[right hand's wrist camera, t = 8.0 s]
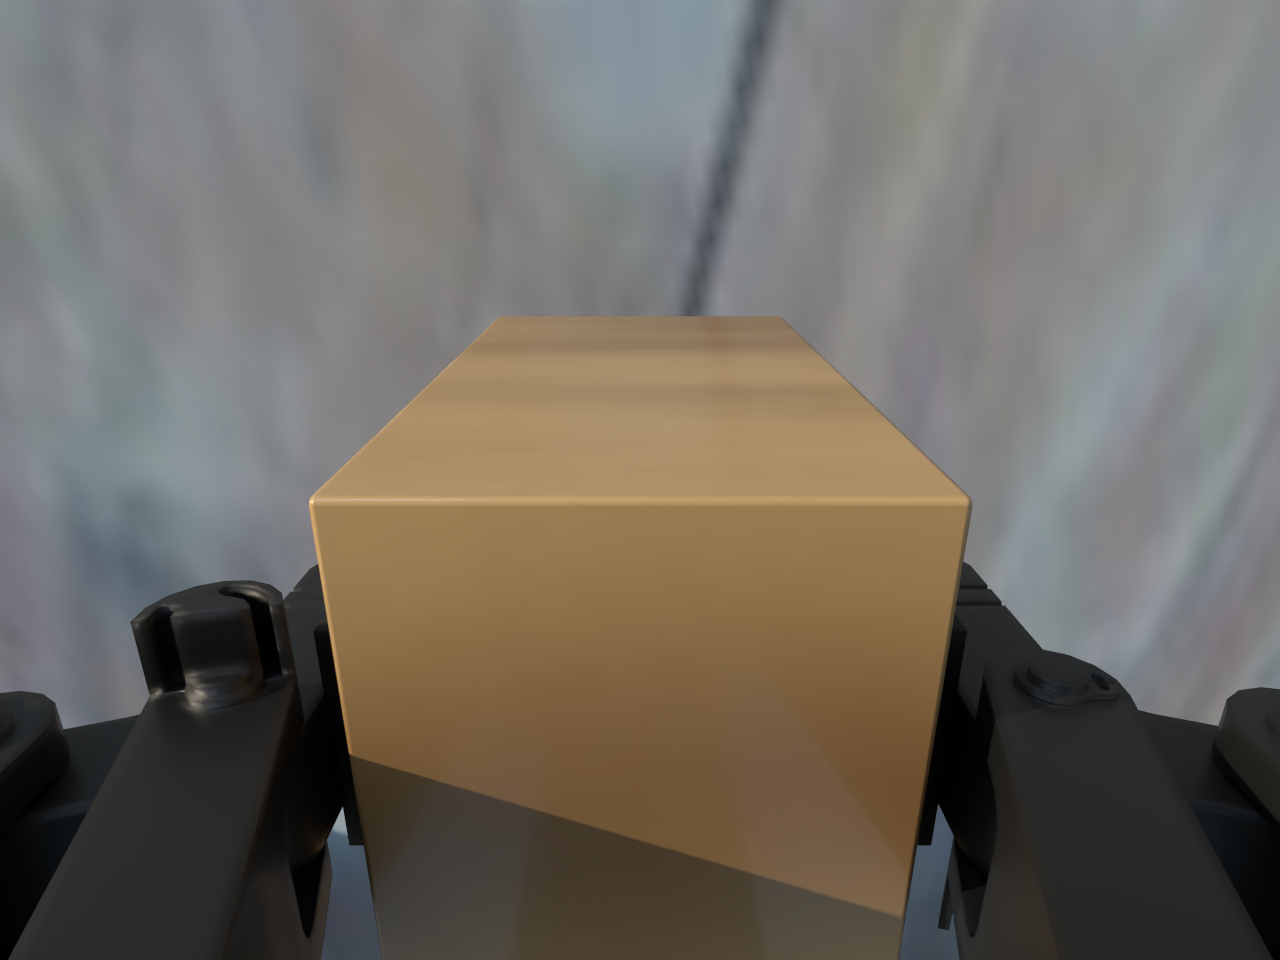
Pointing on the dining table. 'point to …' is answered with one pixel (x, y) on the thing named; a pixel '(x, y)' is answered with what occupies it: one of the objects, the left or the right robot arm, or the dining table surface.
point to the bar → (640, 647)
